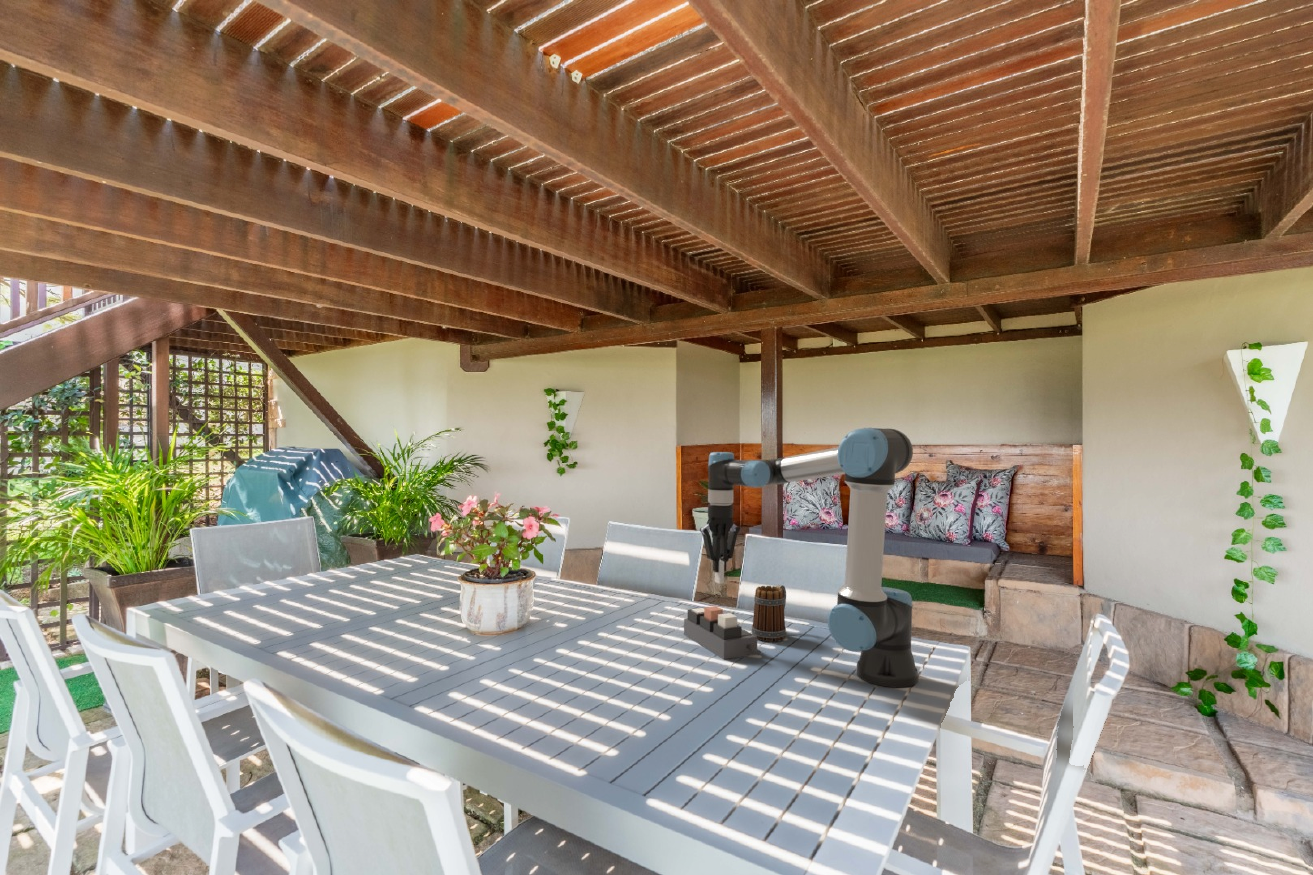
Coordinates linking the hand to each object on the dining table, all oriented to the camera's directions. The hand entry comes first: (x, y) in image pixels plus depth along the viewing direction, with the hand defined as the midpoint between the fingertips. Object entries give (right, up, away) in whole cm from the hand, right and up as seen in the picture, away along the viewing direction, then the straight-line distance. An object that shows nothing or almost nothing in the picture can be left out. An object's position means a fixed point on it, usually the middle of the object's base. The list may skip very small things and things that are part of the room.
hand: (719, 582), depth 195 cm
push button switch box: (+1, -18, -2) cm, 19 cm away
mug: (+17, -19, +10) cm, 27 cm away
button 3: (-5, -13, +6) cm, 15 cm away
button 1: (+2, -11, -8) cm, 13 cm away
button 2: (-2, -11, -1) cm, 11 cm away
